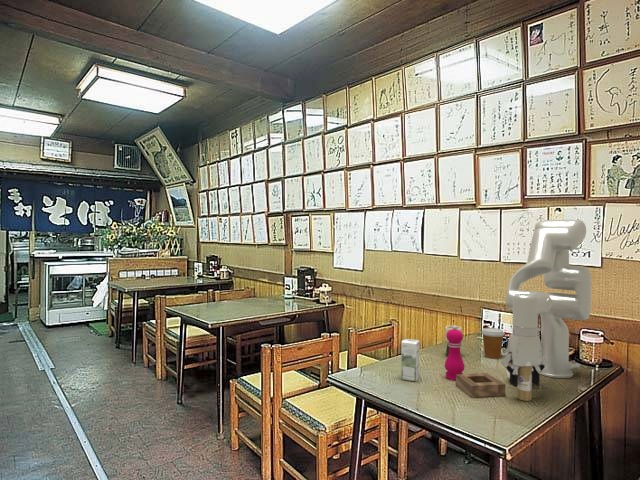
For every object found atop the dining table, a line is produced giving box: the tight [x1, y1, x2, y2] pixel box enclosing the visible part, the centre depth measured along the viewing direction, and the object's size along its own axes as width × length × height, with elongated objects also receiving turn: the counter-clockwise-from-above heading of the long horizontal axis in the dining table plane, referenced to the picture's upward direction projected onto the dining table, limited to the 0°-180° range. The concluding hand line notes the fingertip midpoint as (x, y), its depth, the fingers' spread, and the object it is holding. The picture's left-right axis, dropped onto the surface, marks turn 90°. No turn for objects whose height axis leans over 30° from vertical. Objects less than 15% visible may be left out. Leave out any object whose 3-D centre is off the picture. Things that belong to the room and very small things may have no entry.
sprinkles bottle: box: [516, 362, 533, 402], centre depth 145 cm, size 5×5×14 cm
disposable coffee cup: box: [481, 327, 505, 360], centre depth 195 cm, size 10×10×12 cm
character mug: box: [444, 325, 463, 356], centre depth 196 cm, size 11×7×13 cm, turn 140°
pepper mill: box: [444, 324, 465, 381], centre depth 166 cm, size 7×7×20 cm
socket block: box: [455, 372, 506, 399], centre depth 153 cm, size 12×12×4 cm
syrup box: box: [400, 338, 420, 382], centre depth 165 cm, size 6×6×14 cm
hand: (524, 384), depth 145 cm, fingers open, 6 cm apart
